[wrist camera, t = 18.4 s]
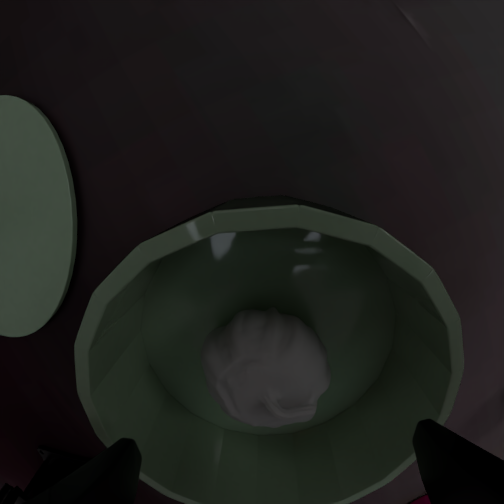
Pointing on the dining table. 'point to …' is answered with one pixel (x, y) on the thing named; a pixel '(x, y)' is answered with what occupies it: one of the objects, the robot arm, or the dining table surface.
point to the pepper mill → (422, 500)
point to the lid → (33, 219)
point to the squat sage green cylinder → (285, 301)
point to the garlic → (265, 368)
